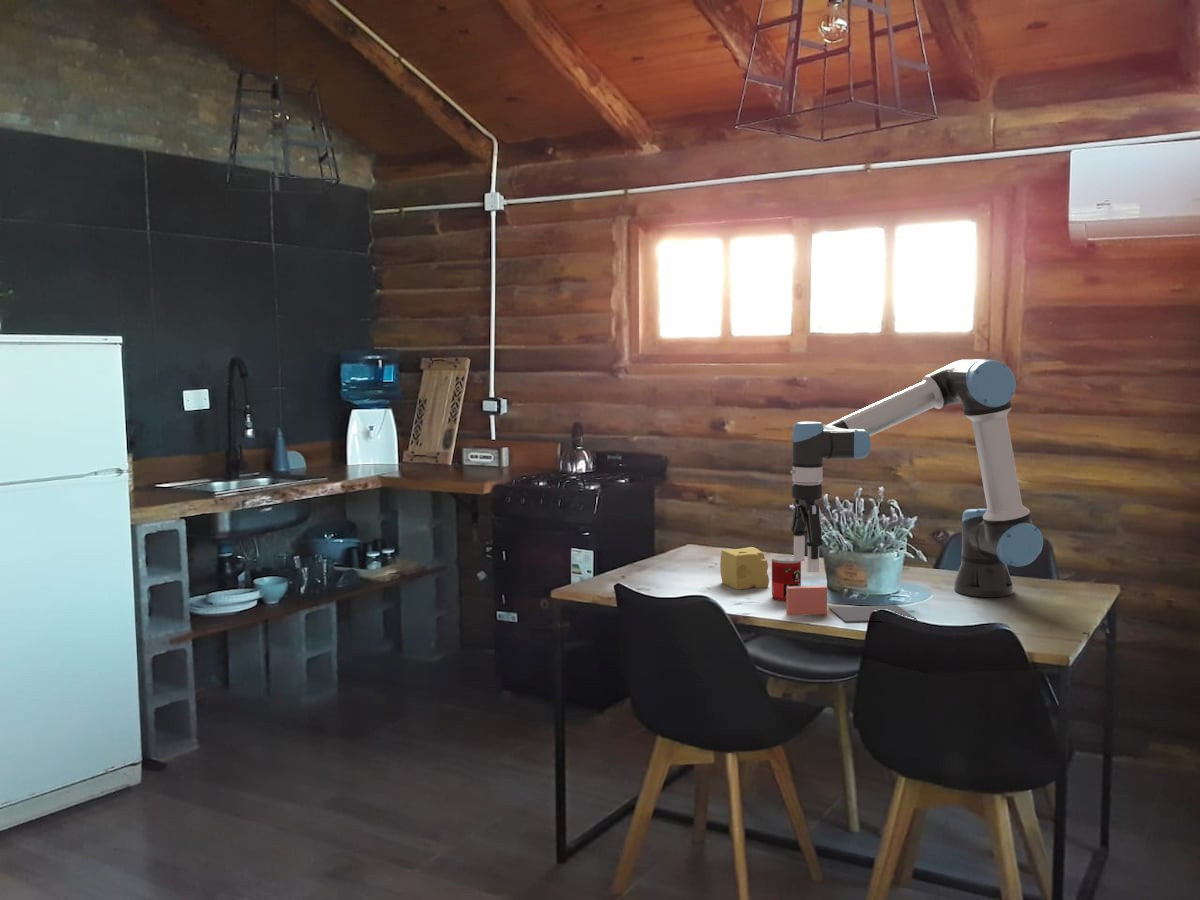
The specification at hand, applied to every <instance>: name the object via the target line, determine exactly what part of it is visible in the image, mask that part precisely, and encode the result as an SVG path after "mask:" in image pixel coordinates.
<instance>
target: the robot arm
mask: <svg viewBox="0 0 1200 900" xmlns="http://www.w3.org/2000/svg"><path fill="white" fill-rule="evenodd" d="M921 379H922V380H921V382H918V383H916V384H914V385H912V386H909V387H908V388H905V389H903V390H901V391H899V392H896V393H894V394H892V395H890V396H888V397H887V396H886V397H885V398H883V399H881V400H879V401H878V400H877V402H874V403H872V404H869V405H868V406H866V407H863V408H861V409H858V410H857V411H855V412H852V413H850V414H848V415H846V416H844V417H842V418H840V419H837V420H835V421H833V422H831V423H828V424H825V423H824V424H823V423H822V422H821V421H798V422H795V423H794V425H793V428H792V438H791V446H792V447H791V448H792V449H791V450H792V451H791V452H792V453H791V454H792V456H791V457H792V469H791V470H790V471H789V472H790V475H791V477H792V478H791V480H792V482H793V483H792V484H791V498H792V499H794V510H793V517H792V522H791V529H790V530H791V532H792V534H793V556H794V557H793V561H801V562H805V547H807V566H806V567H807V569H806V570H807V571H806V572H807V573H819V572H820V546H822V545H823V538H822V528H821V519H820V505H816V504H815V501H816V500H817V501H818V500H821V499H822V498H823V484H821V483H822V482H823V477H824V476H823V468H824V467H823V465H824V463H823V460H857V459H859V460H860V459H865V458H867V457H868V456H869V455H870V452H871V447H872V446H871V444H872V443H871V442H872V441H871V437H872V436H875V435H876V434H879V433H880V432H883V431H884V430H887V429H889V428H891V427H894V426H896V425H898V424H901V423H903V422H904V421H907V420H909V419H912V418H915V417H916V416H918V415H920V414H923V413H924V412H926V411H928V410H931V409H933V408H934V409H937V410H940V409H943V408H945V407H948V406H951V405H956V404H962V410H963V414H964V417H966V419H968V420H970V421H971V425H972V430H973V435H974V436H973V437H974V440H975V447H976V453H977V457H978V464H979V469H980V476H981V480H982V481H981V482H982V487H983V491H984V496H985V497H984V498H985V502H986V508H968V509H965V510H964V511H963V513H962V517H961V563H960V566H959V568H958V571H957V574H956V577H955V579H954V582H953V583H954V592H957V593H959V594H962V595H965V596H971V597H976V598H977V597H978V598H1005V597H1009V596H1012V595H1013V594H1014V585H1013V582H1012V578H1011V575H1010V572H1009V569H1008V568H1009V567H1008V566H1013V567H1025V566H1027V565H1030V564H1032V563H1033V562H1034V561H1035V560H1036V559H1037V557H1039V555H1040V554H1041V552H1042V550H1043V546H1044V537H1043V534H1042V532H1041V531H1040V529H1039V528H1038V527H1037V526H1036V525H1034V524H1033V521H1032V516H1031V511H1030V509H1029V508H1028V507H1027V506H1025V505H1023V500H1022V496H1021V491H1020V490H1021V489H1020V483H1019V480H1018V472H1017V467H1016V461H1015V456H1014V449H1013V443H1012V437H1011V432H1010V427H1009V422H1008V413H1010V411H1011V409H1013V408H1012V407H1013V406H1012V402H1011V400H1012V398H1013V395H1015V393H1016V389H1017V388H1016V387H1017V381H1016V378H1015V375H1014V372H1013V371H1012V370H1011V369H1010V367H1009V366H1008V365H1006V364H1005V363H1003V362H1001V361H999V360H994V359H989V358H980V359H979V358H977V359H976V358H975V359H971V358H967V359H966V358H965V359H964V358H963V359H960V360H957V361H954V362H952V363H949V364H947V365H945V366H943V367H941V368H939V369H936V370H935V371H933V372H931V373H929V374H927V375H925V376H923V377H922V378H921ZM806 535H807V539H808V542H806V539H805V536H806ZM805 543H806V546H805Z"/></svg>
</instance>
